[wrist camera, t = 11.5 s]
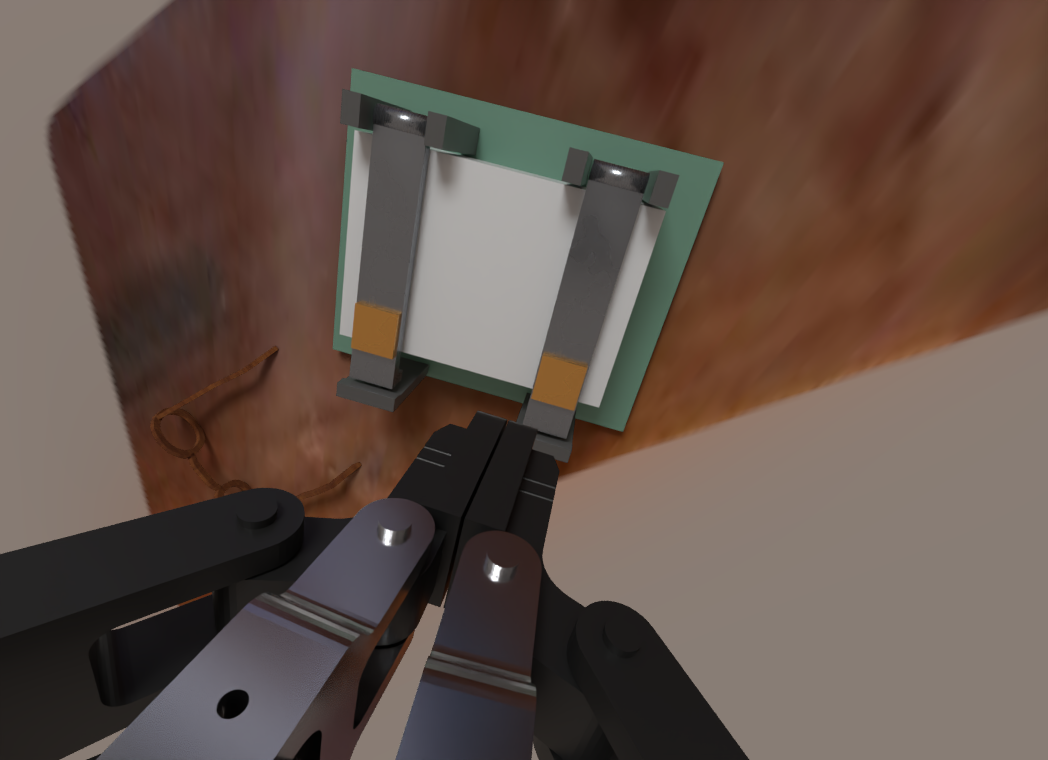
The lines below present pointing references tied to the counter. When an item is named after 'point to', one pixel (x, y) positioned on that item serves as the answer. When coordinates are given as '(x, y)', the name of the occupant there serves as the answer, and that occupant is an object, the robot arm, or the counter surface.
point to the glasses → (201, 439)
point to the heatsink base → (551, 160)
